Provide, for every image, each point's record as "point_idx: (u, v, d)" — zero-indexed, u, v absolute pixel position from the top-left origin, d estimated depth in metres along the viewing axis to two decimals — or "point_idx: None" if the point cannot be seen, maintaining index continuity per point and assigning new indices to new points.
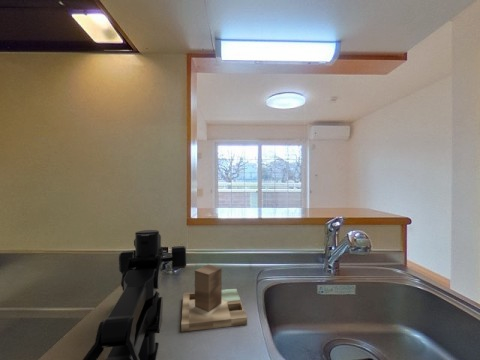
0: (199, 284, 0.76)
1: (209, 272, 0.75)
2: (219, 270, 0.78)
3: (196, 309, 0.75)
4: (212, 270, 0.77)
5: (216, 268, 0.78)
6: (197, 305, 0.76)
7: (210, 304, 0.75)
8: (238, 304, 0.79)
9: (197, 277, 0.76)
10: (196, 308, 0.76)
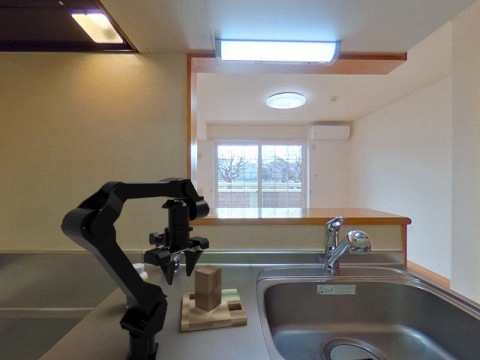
0: (199, 284, 0.76)
1: (209, 272, 0.75)
2: (219, 270, 0.78)
3: (196, 309, 0.75)
4: (212, 270, 0.77)
5: (216, 268, 0.78)
6: (197, 305, 0.76)
7: (210, 304, 0.75)
8: (238, 304, 0.79)
9: (197, 277, 0.76)
10: (196, 308, 0.76)
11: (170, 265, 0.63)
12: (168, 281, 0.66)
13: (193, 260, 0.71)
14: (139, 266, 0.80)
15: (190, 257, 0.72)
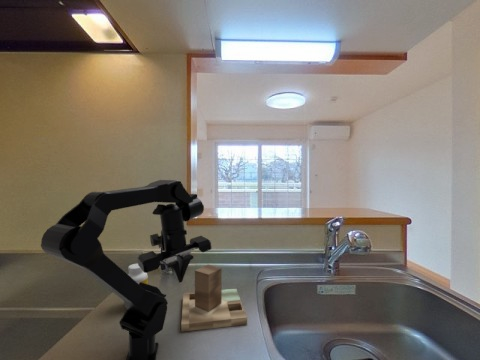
0: (199, 284, 0.76)
1: (209, 272, 0.75)
2: (219, 270, 0.78)
3: (196, 309, 0.75)
4: (212, 270, 0.77)
5: (216, 268, 0.78)
6: (197, 305, 0.76)
7: (210, 304, 0.75)
8: (238, 304, 0.79)
9: (197, 277, 0.76)
10: (196, 308, 0.76)
11: (173, 266, 0.65)
12: (177, 279, 0.69)
13: (182, 266, 0.67)
14: None
15: (180, 263, 0.68)
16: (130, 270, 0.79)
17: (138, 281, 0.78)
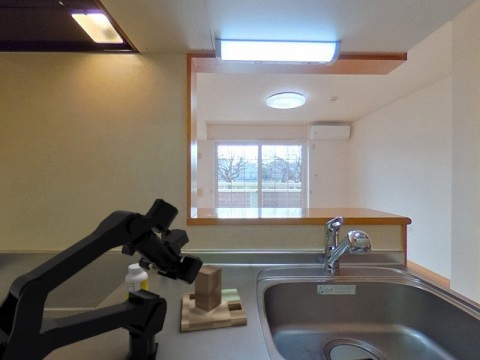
0: (199, 284, 0.76)
1: (209, 272, 0.75)
2: (219, 270, 0.78)
3: (196, 309, 0.75)
4: (212, 270, 0.77)
5: (216, 268, 0.78)
6: (197, 305, 0.76)
7: (210, 304, 0.75)
8: (238, 304, 0.79)
9: (197, 277, 0.76)
10: (196, 308, 0.76)
11: (161, 275, 0.66)
12: None
13: None
14: (139, 266, 0.80)
15: None
16: (130, 270, 0.79)
17: (138, 281, 0.78)
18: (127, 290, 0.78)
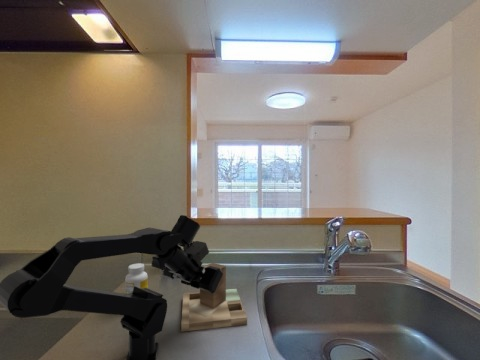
0: None
1: None
2: (223, 268, 0.79)
3: (196, 309, 0.75)
4: None
5: (221, 266, 0.80)
6: (202, 302, 0.78)
7: (215, 300, 0.76)
8: (238, 304, 0.79)
9: None
10: (196, 308, 0.76)
11: (184, 283, 0.73)
12: None
13: None
14: (139, 266, 0.80)
15: None
16: (130, 270, 0.79)
17: (138, 281, 0.78)
18: (127, 290, 0.78)
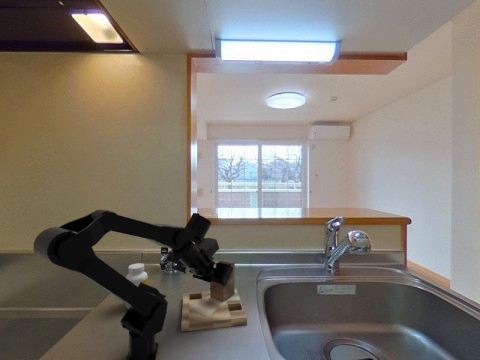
0: None
1: None
2: (232, 263, 0.83)
3: (196, 309, 0.75)
4: None
5: (230, 262, 0.84)
6: (212, 296, 0.82)
7: (225, 294, 0.80)
8: (238, 304, 0.79)
9: None
10: (196, 308, 0.76)
11: None
12: None
13: None
14: (139, 266, 0.80)
15: None
16: (130, 270, 0.79)
17: (138, 281, 0.78)
18: None
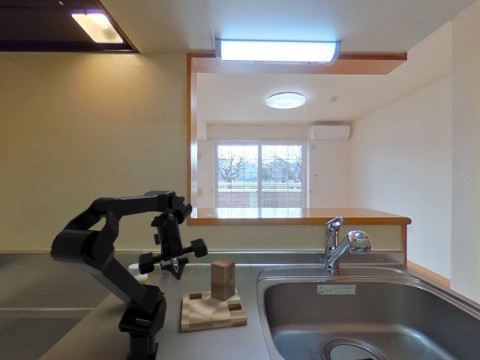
0: (214, 276, 0.82)
1: (224, 265, 0.81)
2: (233, 263, 0.84)
3: (196, 309, 0.75)
4: (227, 263, 0.83)
5: (230, 261, 0.84)
6: (213, 295, 0.82)
7: (226, 294, 0.80)
8: (238, 304, 0.79)
9: (213, 269, 0.82)
10: (196, 308, 0.76)
11: (167, 269, 0.70)
12: None
13: (178, 268, 0.72)
14: None
15: (177, 264, 0.73)
16: (130, 270, 0.79)
17: (138, 281, 0.78)
18: None
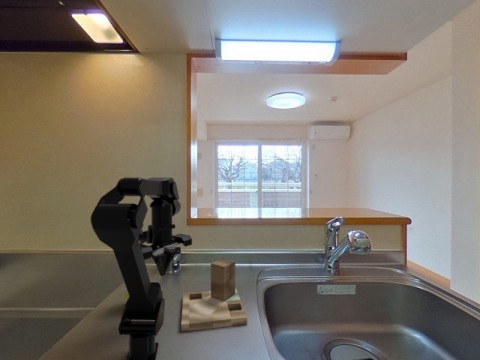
0: (214, 276, 0.82)
1: (224, 265, 0.81)
2: (233, 263, 0.84)
3: (196, 309, 0.75)
4: (227, 263, 0.83)
5: (230, 261, 0.84)
6: (213, 295, 0.82)
7: (226, 294, 0.80)
8: (238, 304, 0.79)
9: (213, 269, 0.82)
10: (196, 308, 0.76)
11: (162, 257, 0.69)
12: (160, 272, 0.72)
13: (167, 259, 0.72)
14: None
15: None
16: None
17: None
18: None
